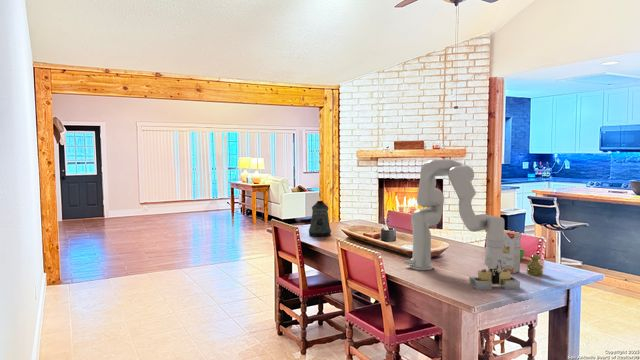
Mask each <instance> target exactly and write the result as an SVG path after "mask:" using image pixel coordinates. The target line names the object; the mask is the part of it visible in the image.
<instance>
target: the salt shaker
mask: <svg viewBox="0 0 640 360" xmlns="http://www.w3.org/2000/svg"><path fill="white" fill-rule="evenodd" d="M529 258H530V259H531V261H529V263H527V264H526V273H527V275H530V276H534V277H538V276H539V277H540V276H543V273H544V270H543V269H544V265H542V264H541V263H540V262H539V260H540V259H541V258H542V257H541V256H540V255H538V254H536V253H535V254H532V255H530V256H529Z"/></svg>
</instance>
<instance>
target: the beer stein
mask: <svg viewBox="0 0 640 360" xmlns="http://www.w3.org/2000/svg"><path fill="white" fill-rule="evenodd" d="M329 209H330V208H329V206H328V205H327V204H326V203H325V202H324V200H317V201H316V203H314V204H313V206H311V210H312V212H311V213H312V214H311V220H310V225H309V228H308V235H309V236H310V237H314V238H326V237H331V234H332V229H331V226H330V220H329Z"/></svg>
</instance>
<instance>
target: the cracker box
mask: <svg viewBox="0 0 640 360" xmlns="http://www.w3.org/2000/svg"><path fill="white" fill-rule="evenodd" d="M521 239H522V232H516V231H512V230H506V229H504V247H503V268H502V269H501V270H503V269H507V270H508V271H510V272H511V274H516V273H520V271H521V270H520V269H521V259H520V244H521V243H522V242H521V241H522V240H521ZM496 268H497V267H496Z"/></svg>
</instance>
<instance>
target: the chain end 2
mask: <svg viewBox="0 0 640 360" xmlns="http://www.w3.org/2000/svg"><path fill="white" fill-rule="evenodd" d="M498 286H499V287H501V288H502V289H504V290H520V289H521V281H520V280H518V279H516V278H515V277H513V276H511V275H510V280H503V285H498Z"/></svg>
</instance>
